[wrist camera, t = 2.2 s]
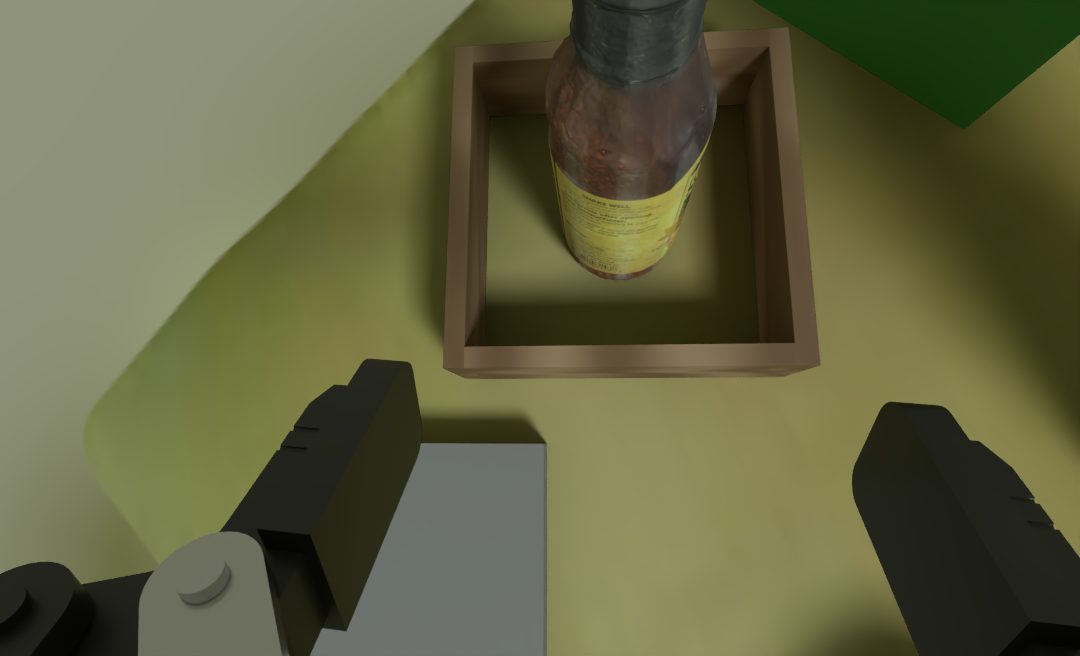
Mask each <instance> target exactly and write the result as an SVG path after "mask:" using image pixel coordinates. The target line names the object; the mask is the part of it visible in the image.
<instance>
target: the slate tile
mask: <svg viewBox="0 0 1080 656" xmlns="http://www.w3.org/2000/svg"><path fill="white" fill-rule="evenodd" d="M311 656H547V443H421V446H420V451H419V454H418V457H417V460H416V463H415V465H414V468H413V470H412V472H411V475H410V477H409V480H408V482H407V485H406V487H405V490H404V492H403V495H402V497H401V499H400V502H399V504H398V507H397V509H396V512H395V514H394V517H393V519H392V521H391V524H390V526H389V529H388V531H387V534H386V536H385V539H384V541H383V543H382V546H381V548H380V551H379V553H378V556H377V558H376V561H375V563H374V566H373V568H372V570H371V573H370V575H369V578H368V580H367V583H366V585H365V588H364V590H363V592H362V595H361V597H360V600H359V602H358V605H357V607H356V610H355V612H354V615H353V617H352V619H351V622H350V624H349V627H348V629H347V631H340V630H332V629H325V628H322V630H321V632H320V634H319V637H318V639H317V641H316V643H315V646H314V648H313V650H312V652H311Z"/></svg>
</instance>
